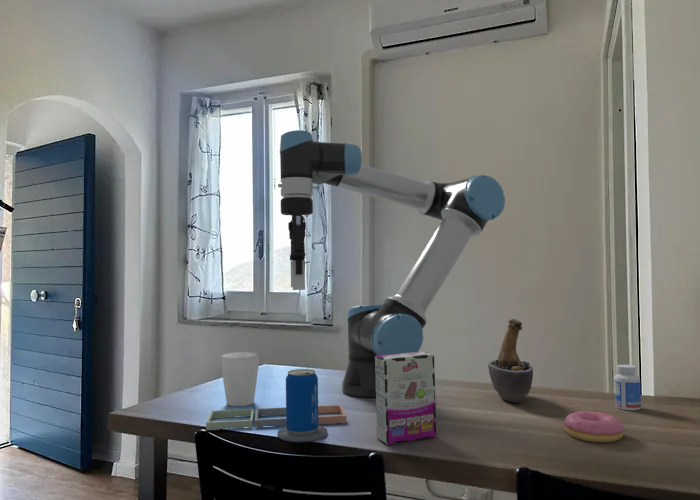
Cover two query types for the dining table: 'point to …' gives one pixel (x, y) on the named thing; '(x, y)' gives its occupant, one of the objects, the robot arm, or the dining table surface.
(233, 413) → the sage corral
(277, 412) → the slate-grey corral
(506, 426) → the dining table surface
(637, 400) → the pill bottle
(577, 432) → the doughnut
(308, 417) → the beverage can
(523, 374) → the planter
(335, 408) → the terracotta corral
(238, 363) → the grey tapered cylinder
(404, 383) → the candy bar box
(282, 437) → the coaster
